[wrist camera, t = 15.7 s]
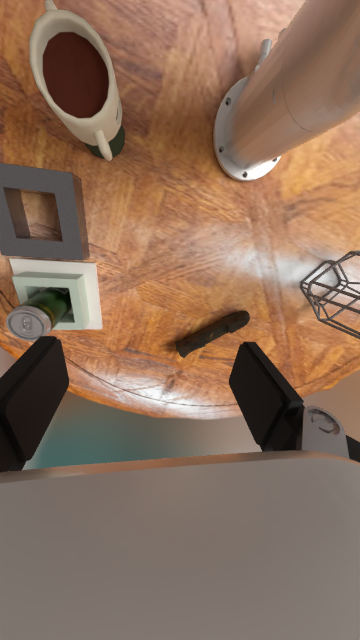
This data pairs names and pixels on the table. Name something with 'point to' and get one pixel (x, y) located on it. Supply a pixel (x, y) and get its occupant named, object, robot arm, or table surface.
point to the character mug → (77, 79)
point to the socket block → (10, 220)
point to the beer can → (39, 313)
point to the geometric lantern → (310, 294)
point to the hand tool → (213, 332)
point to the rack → (66, 274)
